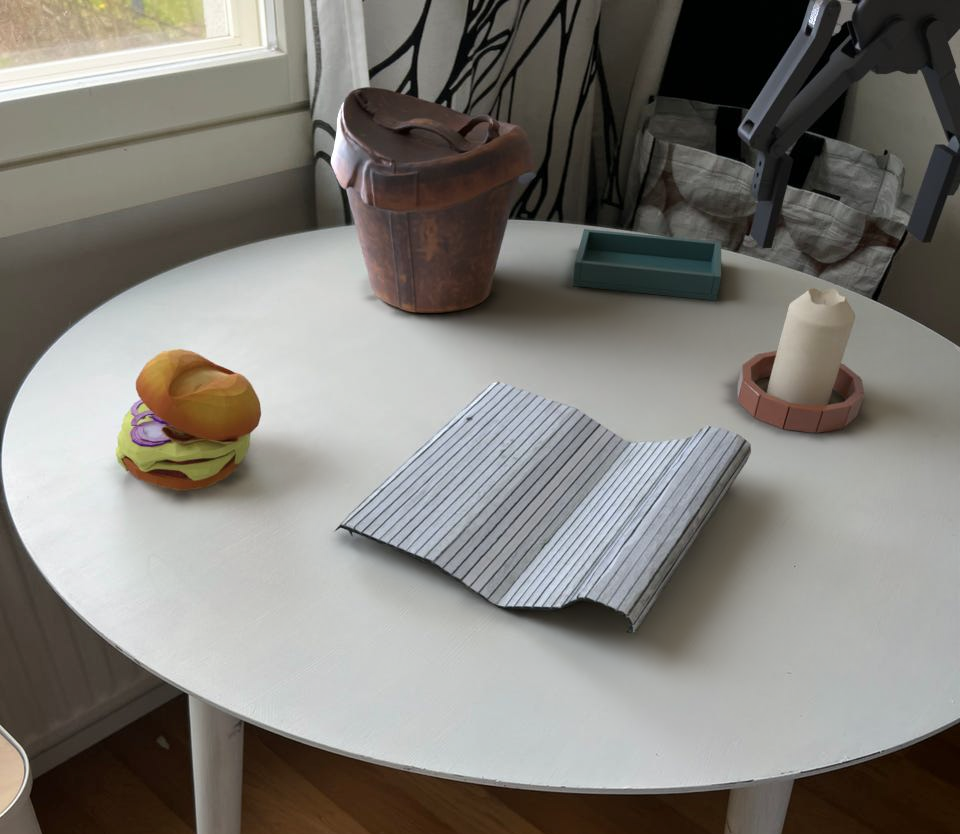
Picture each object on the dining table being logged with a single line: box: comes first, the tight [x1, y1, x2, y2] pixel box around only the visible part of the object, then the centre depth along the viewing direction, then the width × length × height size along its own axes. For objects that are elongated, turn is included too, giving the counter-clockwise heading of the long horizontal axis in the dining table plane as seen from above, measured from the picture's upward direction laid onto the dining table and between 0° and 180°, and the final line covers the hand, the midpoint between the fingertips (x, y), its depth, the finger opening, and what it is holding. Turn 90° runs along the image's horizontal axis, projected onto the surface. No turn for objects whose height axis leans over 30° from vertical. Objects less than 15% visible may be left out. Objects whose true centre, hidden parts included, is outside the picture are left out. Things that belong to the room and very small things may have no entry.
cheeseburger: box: [115, 348, 262, 491], centre depth 74 cm, size 10×11×10 cm
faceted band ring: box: [736, 350, 866, 434], centre depth 86 cm, size 11×11×2 cm
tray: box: [572, 228, 722, 302], centre depth 104 cm, size 15×9×3 cm, turn 80°
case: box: [330, 86, 537, 314], centre depth 95 cm, size 18×20×18 cm
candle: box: [766, 287, 856, 406], centre depth 83 cm, size 6×6×10 cm
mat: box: [333, 381, 752, 634], centre depth 72 cm, size 23×24×5 cm
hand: (840, 239), depth 76 cm, fingers open, 13 cm apart
